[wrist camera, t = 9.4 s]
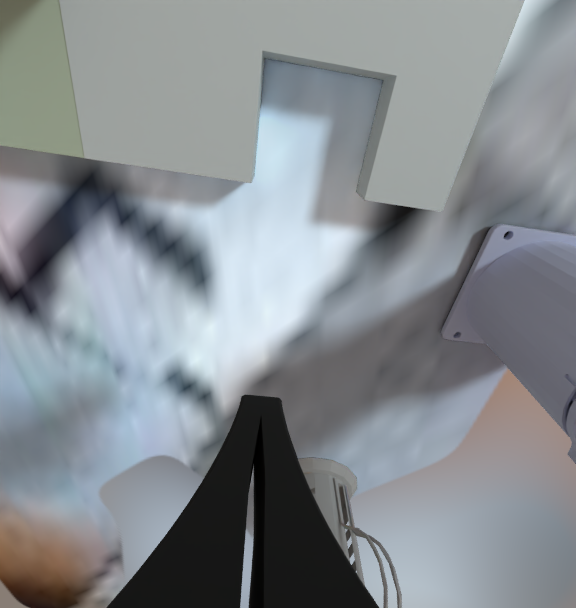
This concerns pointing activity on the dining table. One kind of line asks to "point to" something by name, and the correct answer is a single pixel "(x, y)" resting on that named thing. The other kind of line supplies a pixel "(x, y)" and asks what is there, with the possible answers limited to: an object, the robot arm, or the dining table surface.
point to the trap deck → (247, 80)
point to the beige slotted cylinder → (342, 511)
